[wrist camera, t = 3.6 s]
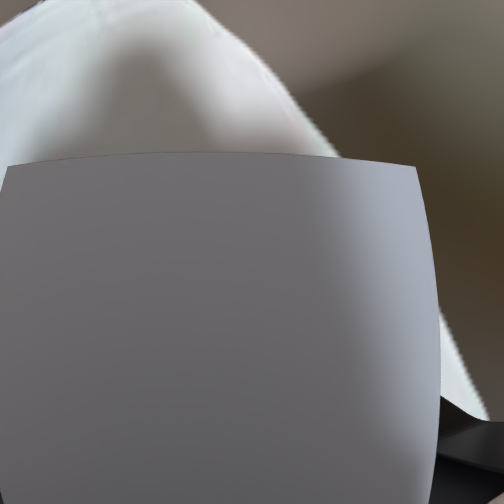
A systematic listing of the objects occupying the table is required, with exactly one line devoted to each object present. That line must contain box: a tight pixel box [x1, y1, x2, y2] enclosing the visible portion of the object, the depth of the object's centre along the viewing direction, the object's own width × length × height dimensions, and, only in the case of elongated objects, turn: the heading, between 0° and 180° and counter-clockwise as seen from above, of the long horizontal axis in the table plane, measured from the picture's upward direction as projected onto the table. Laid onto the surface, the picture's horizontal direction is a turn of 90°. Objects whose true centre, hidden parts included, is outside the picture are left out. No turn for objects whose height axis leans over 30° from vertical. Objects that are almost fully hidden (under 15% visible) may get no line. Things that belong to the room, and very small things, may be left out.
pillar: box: [0, 152, 441, 504], centre depth 9 cm, size 5×5×13 cm
